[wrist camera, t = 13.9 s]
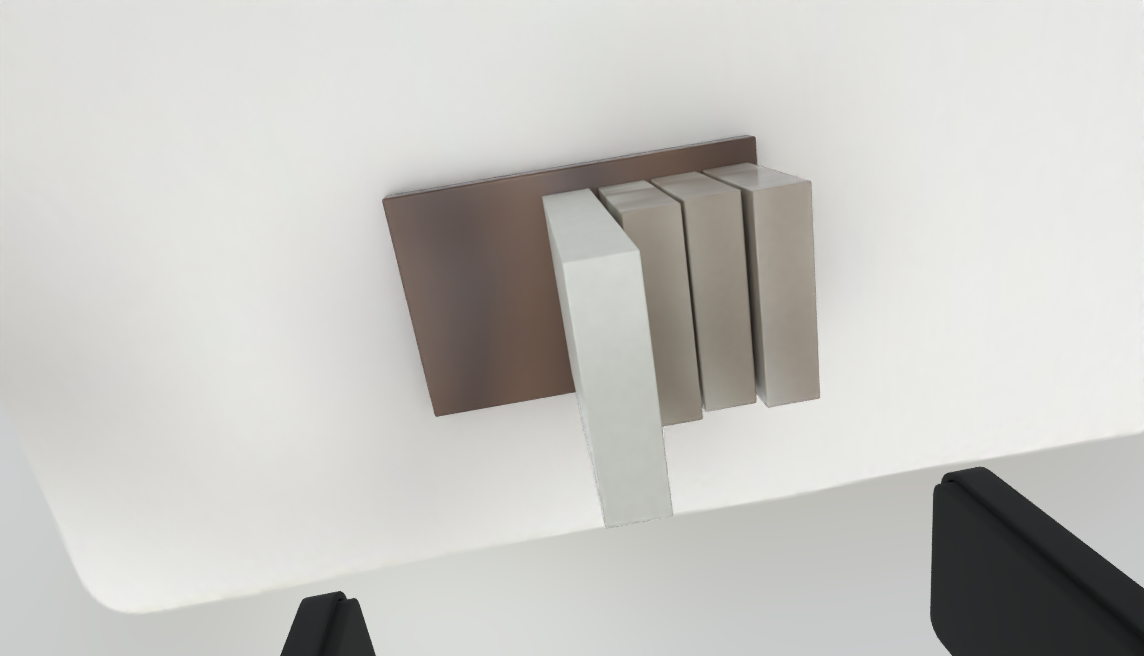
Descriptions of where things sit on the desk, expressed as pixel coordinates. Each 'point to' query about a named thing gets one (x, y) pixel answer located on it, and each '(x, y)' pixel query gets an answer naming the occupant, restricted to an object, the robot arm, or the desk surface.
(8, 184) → the desk surface
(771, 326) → the leaning book row
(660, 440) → the white book
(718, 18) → the desk surface
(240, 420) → the desk surface
